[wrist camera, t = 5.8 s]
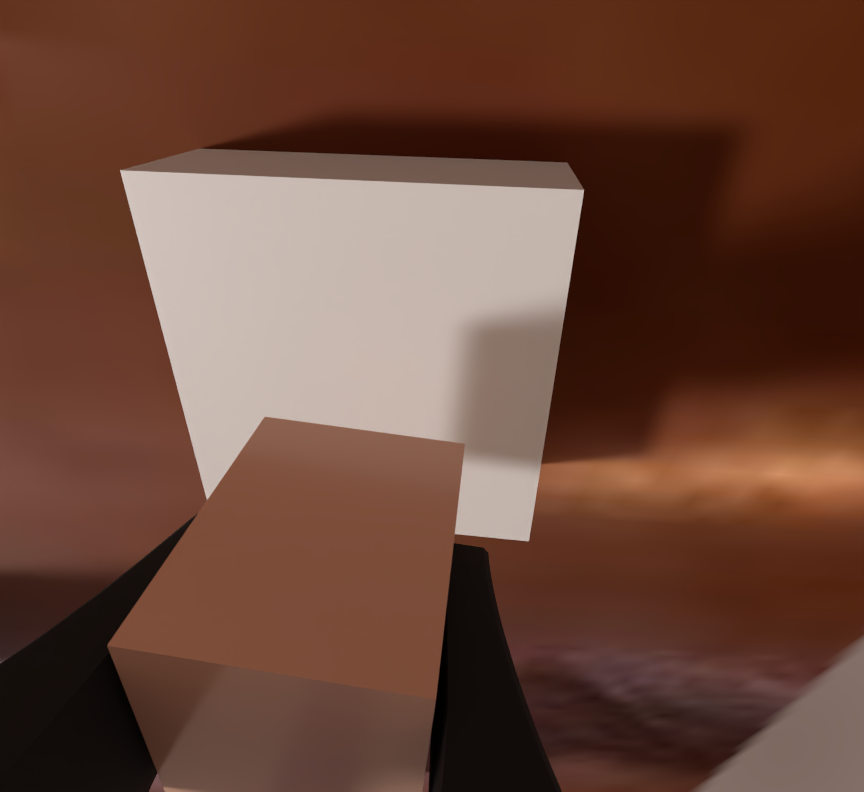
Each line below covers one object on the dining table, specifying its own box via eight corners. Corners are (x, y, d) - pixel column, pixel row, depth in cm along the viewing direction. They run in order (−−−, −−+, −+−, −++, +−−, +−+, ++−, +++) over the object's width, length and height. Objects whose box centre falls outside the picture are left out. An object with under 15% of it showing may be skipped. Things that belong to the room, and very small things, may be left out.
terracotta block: (446, 580, 13) (414, 841, 8) (278, 555, 13) (166, 796, 9) (464, 443, 11) (436, 700, 6) (264, 416, 11) (106, 645, 7)
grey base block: (525, 459, 20) (528, 541, 16) (258, 435, 21) (209, 509, 17) (566, 160, 14) (584, 189, 11) (205, 147, 15) (120, 170, 12)
